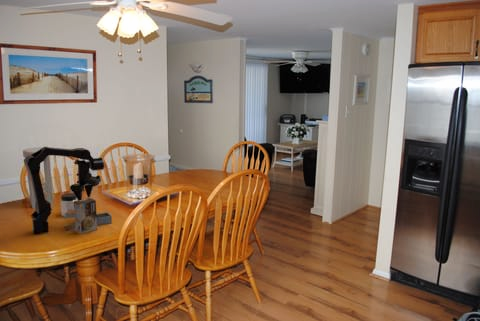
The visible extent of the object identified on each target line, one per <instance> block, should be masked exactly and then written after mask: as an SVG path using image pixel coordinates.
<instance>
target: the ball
mask: <svg viewBox="0 0 480 321" xmlns="http://www.w3.org/2000/svg"><path fill="white" fill-rule="evenodd" d="M67 214H68V215H72V214H74V210H72V209H69V210H68V211H67Z"/></svg>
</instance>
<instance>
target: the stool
mask: <svg viewBox="0 0 480 321" xmlns="http://www.w3.org/2000/svg"><path fill="white" fill-rule="evenodd" d="M42 148H43V147H29V148H25V149H23V150H22V157H23V158H25V157H27V156H29V155H32V154H33V153H35V152H37V151H39V150H40V149H42ZM51 156H53V155H49V156H47V157H46V159H45V160H44V161H43V169H44V170H43V171H44V182H43V183H42V182H41V183H42V187H43V192H44V195H45V200H47V201H48V202H50V203H51V206H52V207H53V206H54V199H53V198H54V197H53V185H52V184H53V183H52V173H51V172H52V171H51V170H52V169H51ZM27 176H28V177H27V178H28V188H29V189H28V190H29V200H30V201H29V203H30V205H31V208H32V209H35V203H36V198H35V194H34V190H33V186H32V181H31V177H30V174H29V172H28V171H27Z"/></svg>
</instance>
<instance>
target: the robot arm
mask: <svg viewBox="0 0 480 321" xmlns="http://www.w3.org/2000/svg"><path fill="white" fill-rule="evenodd" d="M41 148H42V149H40V150H39V151H37V152H35V153H33V154H32V155H29V156H27V157H24V159H23V163H24V166H25V169H26V171H27V173H28V172H29V174H30V177H31V181H32V186H33V190H34V194H35V198H36V203H35V208H34V211H33V213H31V215H30V218H31V219H32V232H33V235H40V234H46V233H49V230H50V229H49V222H48V219H49V217H50V216H51V214H52V211H53V209H52V207H51V203H50V202H48V201H47V200H46V195H45V194H44V192H43V191H44V190H43V187H44V186H43V185H42V180H41V175H40V173H41V172H40V171H41V164H42V163H44V160H45V159H46V157H47V156H49V155H52V156H58V157H68V158H69V157H70V158H75V159H76V160H75V161H73V164H74V165H77V170H78V171H77V173H76V176H77V177H78V178H77V179H78V180H76V183H73V184H71V185H70V186H69V190H70V191H71V192H72V193H74V194H75V196H76V197H77V200H83V198H82V197H83V192H85V193H86V196H87V198H91V194H92V191H93V188H94V187H97V186H99V185H100V183H101V182H102V177H101V175H99V174H98V175H96V176H95V175H94V176H93V174H92V173H91V171H103V170H105V164H104V160H103V158H102V157H95V158H94V157H93V156H92V155H91V151H90V150H88V149H87V148H83V147H75V148H60V147H48V146H43V147H41ZM90 170H91V171H90Z"/></svg>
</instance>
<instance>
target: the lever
mask: <svg viewBox="0 0 480 321" xmlns="http://www.w3.org/2000/svg"><path fill="white" fill-rule="evenodd" d="M73 218H74V219H75V214H72V215H68V214H67V213H65V219H67V220H69V219H73Z"/></svg>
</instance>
